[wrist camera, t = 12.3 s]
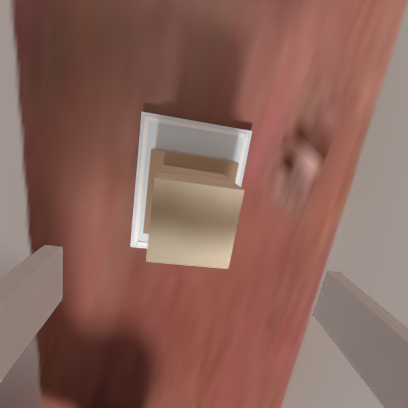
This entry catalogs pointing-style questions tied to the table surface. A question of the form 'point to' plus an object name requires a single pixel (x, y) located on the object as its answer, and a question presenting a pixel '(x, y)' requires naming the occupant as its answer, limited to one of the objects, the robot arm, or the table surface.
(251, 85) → the table surface
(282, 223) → the table surface
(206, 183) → the maple block
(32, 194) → the table surface
